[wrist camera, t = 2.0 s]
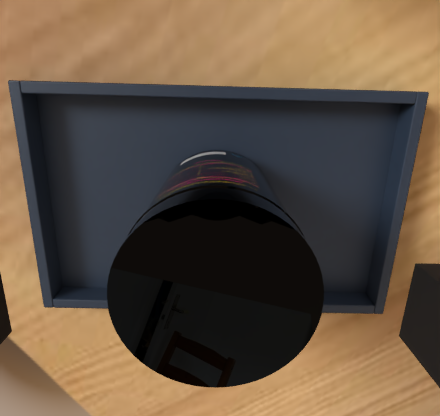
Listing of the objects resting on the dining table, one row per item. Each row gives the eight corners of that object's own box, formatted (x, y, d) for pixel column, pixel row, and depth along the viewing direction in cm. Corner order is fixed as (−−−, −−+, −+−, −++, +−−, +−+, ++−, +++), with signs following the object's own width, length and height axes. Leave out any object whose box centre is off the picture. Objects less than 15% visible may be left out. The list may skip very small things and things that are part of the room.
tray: (409, 92, 19) (429, 91, 17) (370, 297, 23) (383, 314, 21) (27, 82, 18) (7, 80, 17) (57, 290, 23) (43, 307, 21)
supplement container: (186, 267, 22) (158, 410, 12) (142, 170, 20) (65, 243, 10) (286, 233, 21) (348, 355, 11) (252, 129, 19) (289, 163, 9)
